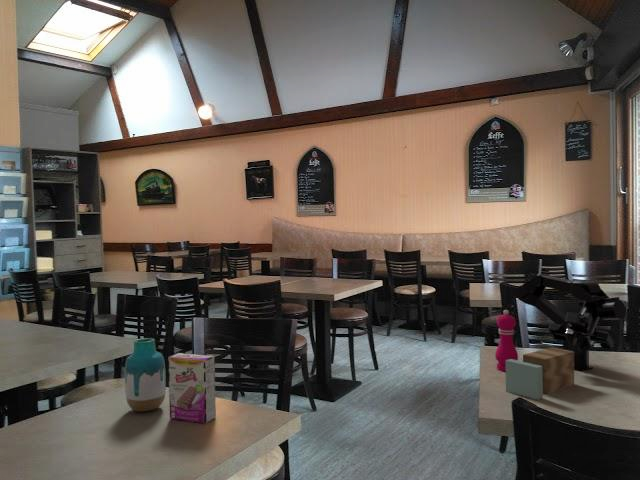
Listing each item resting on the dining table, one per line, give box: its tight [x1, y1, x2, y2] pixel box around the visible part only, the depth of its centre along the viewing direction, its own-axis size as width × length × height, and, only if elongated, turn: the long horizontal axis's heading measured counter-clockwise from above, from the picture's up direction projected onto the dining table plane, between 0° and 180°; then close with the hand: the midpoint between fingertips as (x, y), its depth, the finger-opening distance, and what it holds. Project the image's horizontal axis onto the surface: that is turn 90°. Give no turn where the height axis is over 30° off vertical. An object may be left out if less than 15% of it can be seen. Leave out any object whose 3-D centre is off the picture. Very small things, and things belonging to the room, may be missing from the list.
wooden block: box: [522, 347, 575, 395], centre depth 154 cm, size 15×7×10 cm, turn 124°
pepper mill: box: [494, 309, 519, 373], centre depth 172 cm, size 7×7×20 cm
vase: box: [124, 337, 167, 413], centre depth 141 cm, size 11×11×19 cm
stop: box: [505, 359, 544, 401], centre depth 147 cm, size 2×10×9 cm, turn 35°
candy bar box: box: [167, 352, 217, 424], centre depth 133 cm, size 11×5×16 cm, turn 71°
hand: (570, 357), depth 161 cm, fingers closed
